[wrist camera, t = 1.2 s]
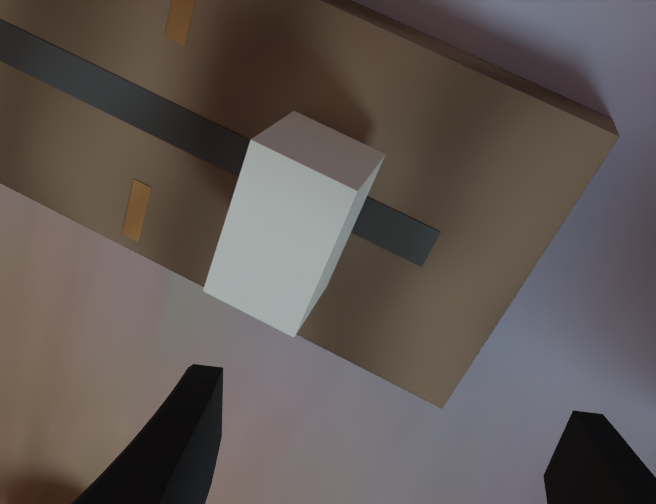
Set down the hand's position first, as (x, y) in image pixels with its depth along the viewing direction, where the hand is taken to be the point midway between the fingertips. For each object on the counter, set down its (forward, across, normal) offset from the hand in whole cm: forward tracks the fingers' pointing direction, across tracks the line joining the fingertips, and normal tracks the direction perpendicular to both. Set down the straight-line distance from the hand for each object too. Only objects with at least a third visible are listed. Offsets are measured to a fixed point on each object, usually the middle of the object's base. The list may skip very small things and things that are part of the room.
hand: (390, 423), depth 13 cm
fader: (+9, +2, -1) cm, 9 cm away
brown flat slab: (+12, +4, -1) cm, 12 cm away
